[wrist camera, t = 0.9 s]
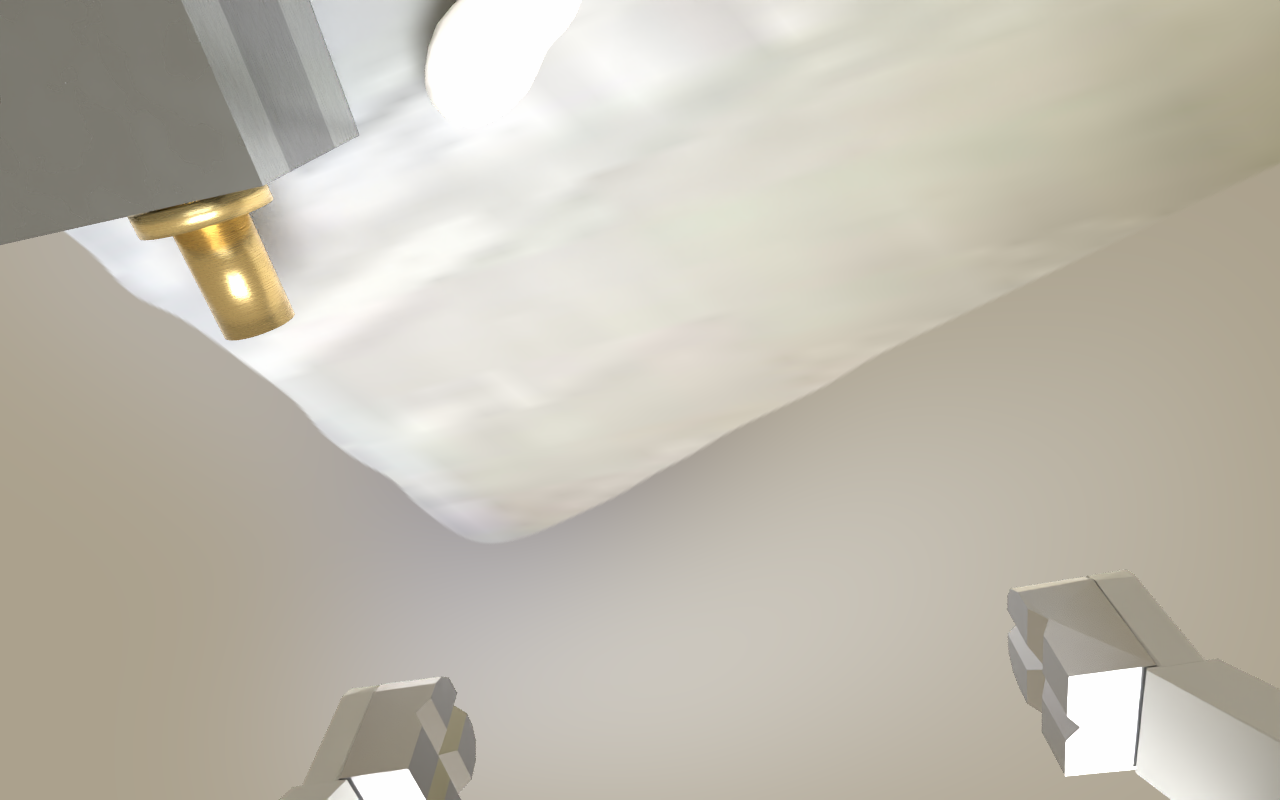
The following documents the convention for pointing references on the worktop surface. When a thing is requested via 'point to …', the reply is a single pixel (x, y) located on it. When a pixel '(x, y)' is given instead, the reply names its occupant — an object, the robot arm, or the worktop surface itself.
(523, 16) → the spatula
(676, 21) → the worktop surface
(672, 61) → the worktop surface
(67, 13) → the housing
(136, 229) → the brass collar peg
